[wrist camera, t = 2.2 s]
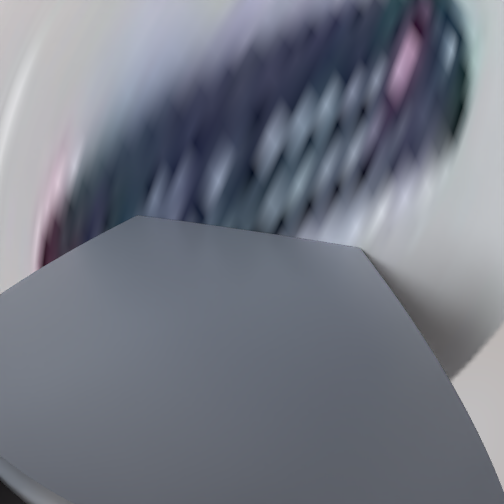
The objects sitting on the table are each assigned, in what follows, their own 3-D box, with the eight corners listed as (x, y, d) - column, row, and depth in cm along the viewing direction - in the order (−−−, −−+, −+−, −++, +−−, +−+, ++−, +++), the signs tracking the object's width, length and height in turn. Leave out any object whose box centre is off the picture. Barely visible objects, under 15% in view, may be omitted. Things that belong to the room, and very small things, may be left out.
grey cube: (309, 406, 12) (313, 587, 4) (146, 377, 12) (66, 532, 4) (360, 248, 9) (507, 501, 1) (137, 215, 10) (-88, 362, 1)
